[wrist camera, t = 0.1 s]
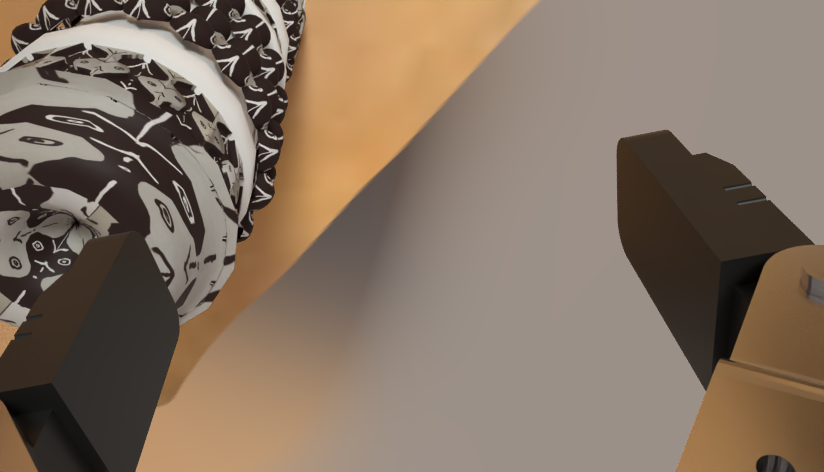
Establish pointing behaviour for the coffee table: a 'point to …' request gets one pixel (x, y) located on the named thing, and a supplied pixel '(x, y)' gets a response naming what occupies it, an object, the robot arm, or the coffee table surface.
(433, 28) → the coffee table surface
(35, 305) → the robot arm
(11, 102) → the grey stacked tower
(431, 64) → the coffee table surface
